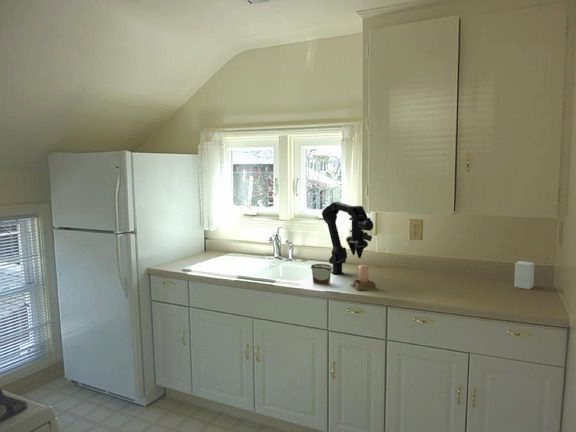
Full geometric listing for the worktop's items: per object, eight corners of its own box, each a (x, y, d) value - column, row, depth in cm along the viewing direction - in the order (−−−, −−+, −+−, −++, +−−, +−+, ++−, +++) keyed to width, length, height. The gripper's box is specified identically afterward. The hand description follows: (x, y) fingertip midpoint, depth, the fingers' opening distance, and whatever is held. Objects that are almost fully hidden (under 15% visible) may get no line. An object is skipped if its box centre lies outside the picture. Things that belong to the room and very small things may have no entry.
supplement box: (533, 286, 225) (535, 262, 224) (529, 289, 220) (530, 265, 219) (518, 284, 231) (519, 260, 229) (513, 286, 225) (514, 262, 224)
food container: (336, 283, 237) (336, 265, 236) (330, 285, 232) (330, 267, 231) (316, 280, 244) (316, 262, 242) (310, 282, 239) (310, 264, 237)
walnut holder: (350, 285, 232) (350, 279, 232) (369, 284, 234) (369, 278, 234) (357, 291, 221) (357, 285, 221) (378, 289, 224) (378, 283, 223)
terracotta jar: (358, 284, 231) (358, 264, 230) (368, 285, 230) (368, 264, 229) (359, 287, 226) (359, 266, 225) (369, 287, 225) (369, 266, 224)
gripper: (377, 230, 234) (376, 259, 235) (364, 226, 252) (364, 252, 254) (357, 231, 232) (357, 260, 233) (345, 226, 250) (345, 253, 251)
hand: (356, 256), depth 243 cm, fingers open, 9 cm apart
